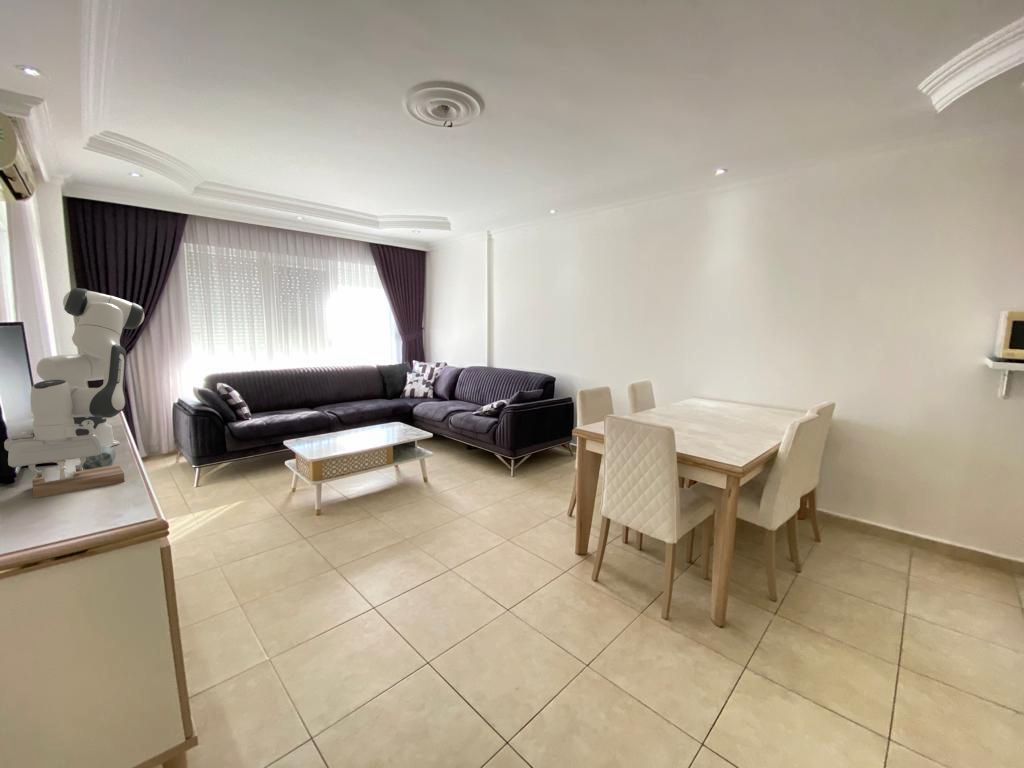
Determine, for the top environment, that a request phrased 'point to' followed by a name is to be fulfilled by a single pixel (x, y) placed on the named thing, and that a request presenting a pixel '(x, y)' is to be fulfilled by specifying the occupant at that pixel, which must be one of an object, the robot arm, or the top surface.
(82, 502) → the top surface
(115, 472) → the notch board
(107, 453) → the yarn ball
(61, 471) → the chess piece
